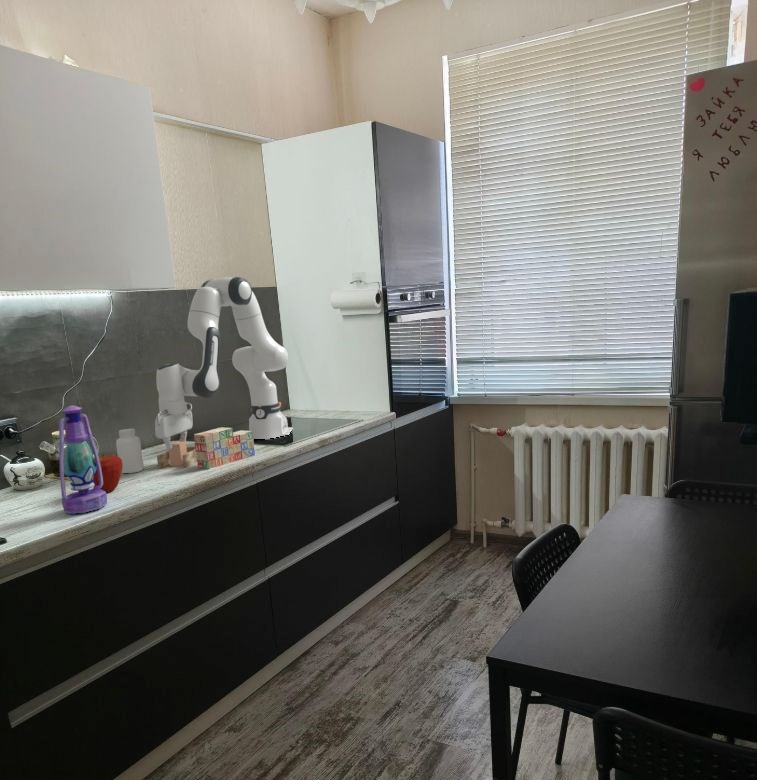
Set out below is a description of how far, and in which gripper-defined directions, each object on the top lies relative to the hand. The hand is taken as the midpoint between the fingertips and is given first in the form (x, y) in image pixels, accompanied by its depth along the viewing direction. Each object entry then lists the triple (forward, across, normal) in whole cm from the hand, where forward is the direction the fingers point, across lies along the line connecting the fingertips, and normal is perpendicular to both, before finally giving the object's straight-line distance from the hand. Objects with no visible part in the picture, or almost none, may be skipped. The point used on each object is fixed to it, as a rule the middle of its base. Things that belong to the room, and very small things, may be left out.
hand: (176, 446), depth 220 cm
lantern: (+8, -48, +2) cm, 49 cm away
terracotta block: (+7, +1, 0) cm, 7 cm away
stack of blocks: (+7, +4, -17) cm, 19 cm away
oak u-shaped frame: (+7, +3, 0) cm, 7 cm away
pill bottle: (+7, -7, +14) cm, 17 cm away
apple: (+8, -31, +7) cm, 33 cm away
